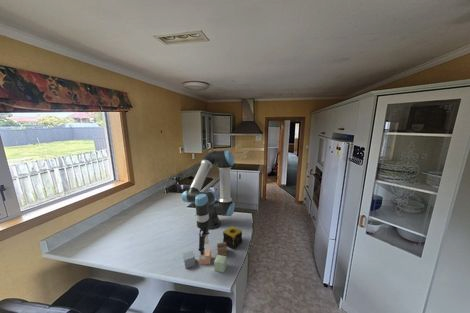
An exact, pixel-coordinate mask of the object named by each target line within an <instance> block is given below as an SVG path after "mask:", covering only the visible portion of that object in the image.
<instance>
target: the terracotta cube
mask: <svg viewBox="0 0 470 313" xmlns="http://www.w3.org/2000/svg"><path fill="white" fill-rule="evenodd" d="M199 261H200V263H199V264H200V266H201V265H211V262H212V249H207V248H205V259H201V258H200V257H199Z"/></svg>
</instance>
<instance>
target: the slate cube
mask: <svg viewBox="0 0 470 313" xmlns="http://www.w3.org/2000/svg"><path fill="white" fill-rule="evenodd" d="M182 257H183V263H184V267H185V270H186V269H189V268H192V267H194V266H196V256H195V253H194V251H193V250H191V251H188V252H185V253H183V254H182Z"/></svg>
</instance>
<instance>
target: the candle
mask: <svg viewBox="0 0 470 313" xmlns="http://www.w3.org/2000/svg"><path fill="white" fill-rule="evenodd" d="M222 235H223V239H222V241H223V242H222V243H224V242H226V246H227V247H228V248H229V249H231V250H235V249H236V248H238V247H240V245H241V244H242V243H243V230H242V229H240V228H237V227H235V226H232V225H231V226H230V227H229V228H227V229H225V230H223V232H222Z"/></svg>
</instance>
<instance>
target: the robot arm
mask: <svg viewBox="0 0 470 313" xmlns="http://www.w3.org/2000/svg"><path fill="white" fill-rule="evenodd" d="M234 163H235V158H234V154H233V152H232V151H230V150H211V151H209V152H208V153H206V154H205V155H204V156H203V157H202V159H201V161H200V166H199V167H198V170H197V172H196V174H195V176H194V178H193V180H192V182H191V185H190V186H189V188H188V190H185V191H182V194H181V200H182V201H183V202H184V203H189V204H190V203H193V204H195V206H194V207H195V213H196V214H195V215H194V216H195V217H196V227H197V228H198V229H199V233H198V235H199V238H198V242H199V243H198V248H197V249H198V252H199V259H200V258H201V259H205V249H206V248H205V245H209V244H210V242H209V235H210V231H209V230H214V229H217V228H219V227H220V225H221V221H220V217H219V216H222V217H231V216H232V215H233V214H234V213H235V212H234V210H235V205H236V203H235V202H234V201H233V198H232V197H231V169H232V166H234ZM213 166H216V167H217V169H218V170H219V198H218V199H217V193H216V192H215V191H214V190H208V191H206V192H205V191H201V189H202V187H203V185H204V183H205V181H206V179H207V176H208V173H209V171H210V169H212V168H213Z"/></svg>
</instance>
